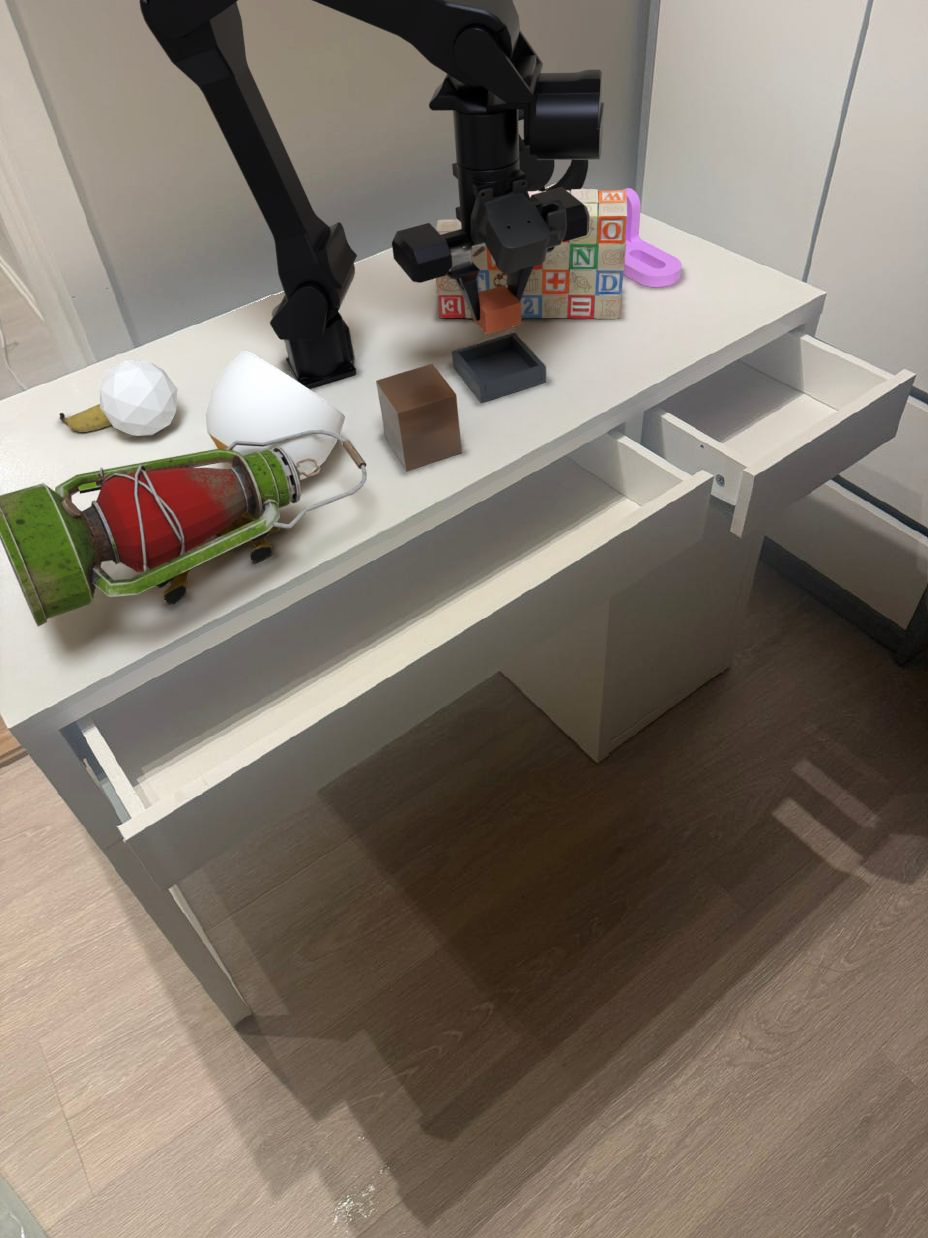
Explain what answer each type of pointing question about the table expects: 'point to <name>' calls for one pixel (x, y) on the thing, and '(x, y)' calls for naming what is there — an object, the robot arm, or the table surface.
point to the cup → (270, 412)
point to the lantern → (146, 521)
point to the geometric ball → (138, 397)
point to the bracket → (646, 252)
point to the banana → (87, 420)
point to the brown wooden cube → (419, 416)
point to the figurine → (260, 542)
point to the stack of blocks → (559, 267)
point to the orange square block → (498, 310)
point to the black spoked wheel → (548, 169)
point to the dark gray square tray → (498, 367)
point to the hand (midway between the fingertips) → (495, 313)
